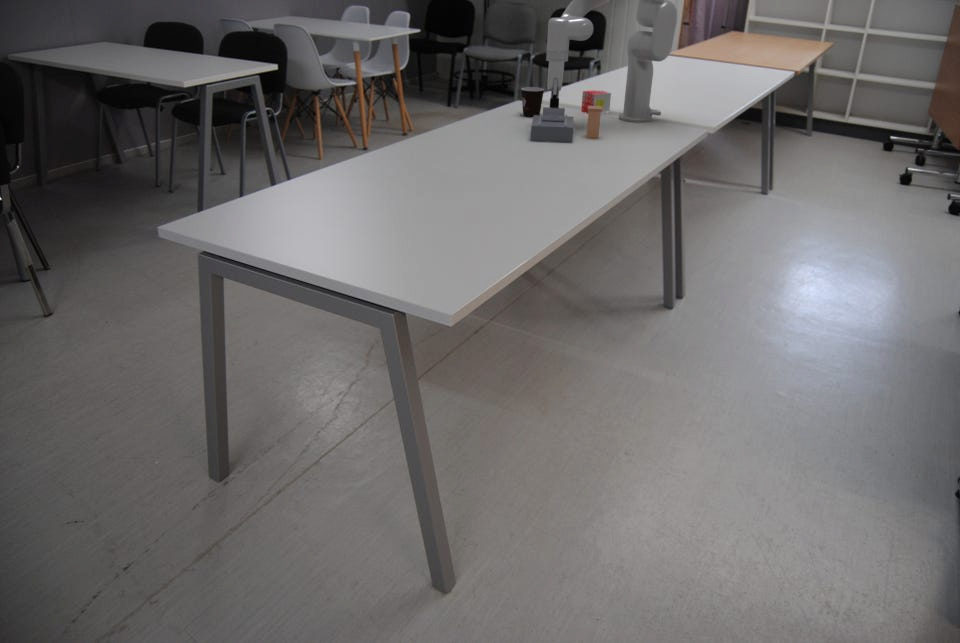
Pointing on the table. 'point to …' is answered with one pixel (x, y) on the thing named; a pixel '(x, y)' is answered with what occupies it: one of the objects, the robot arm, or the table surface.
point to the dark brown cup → (531, 101)
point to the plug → (593, 121)
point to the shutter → (553, 114)
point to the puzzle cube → (596, 100)
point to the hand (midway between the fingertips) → (553, 109)
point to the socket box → (552, 129)
